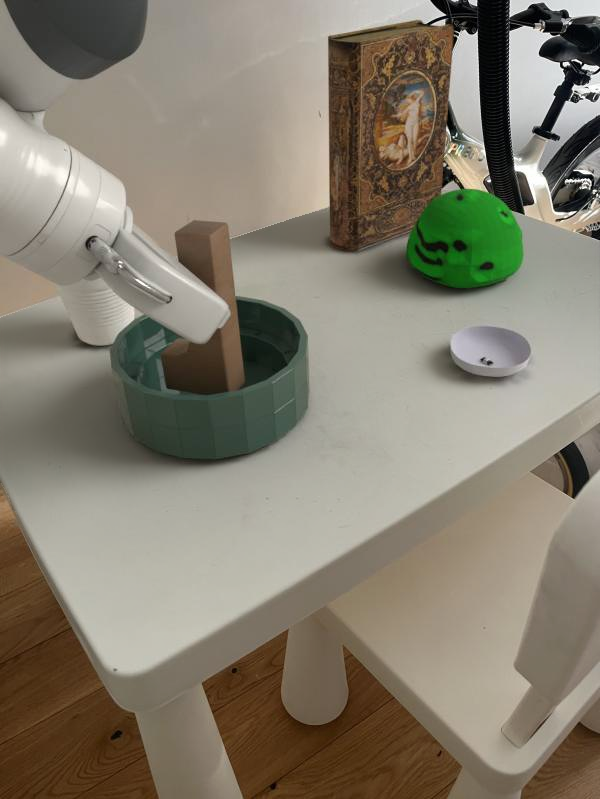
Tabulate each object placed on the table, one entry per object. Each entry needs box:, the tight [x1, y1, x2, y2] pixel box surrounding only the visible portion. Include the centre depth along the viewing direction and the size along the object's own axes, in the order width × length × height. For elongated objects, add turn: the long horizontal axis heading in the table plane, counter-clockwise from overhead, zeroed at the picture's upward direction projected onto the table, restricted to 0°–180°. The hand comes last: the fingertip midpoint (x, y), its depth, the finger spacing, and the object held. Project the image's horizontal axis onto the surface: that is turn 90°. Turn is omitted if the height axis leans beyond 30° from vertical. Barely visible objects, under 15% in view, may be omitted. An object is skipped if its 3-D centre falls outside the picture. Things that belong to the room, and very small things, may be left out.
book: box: [327, 19, 455, 253], centre depth 94 cm, size 16×6×25 cm, turn 128°
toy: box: [405, 188, 524, 289], centre depth 88 cm, size 14×13×10 cm
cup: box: [53, 278, 135, 347], centre depth 78 cm, size 10×10×11 cm
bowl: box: [109, 295, 310, 460], centre depth 67 cm, size 17×17×7 cm
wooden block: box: [161, 219, 245, 395], centre depth 63 cm, size 7×3×15 cm, turn 69°
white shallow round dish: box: [449, 325, 532, 378], centre depth 73 cm, size 8×8×2 cm
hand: (206, 303), depth 62 cm, fingers closed on wooden block, 4 cm apart
